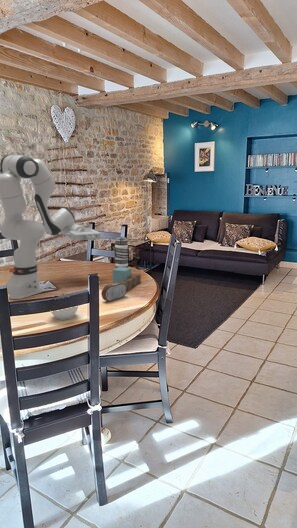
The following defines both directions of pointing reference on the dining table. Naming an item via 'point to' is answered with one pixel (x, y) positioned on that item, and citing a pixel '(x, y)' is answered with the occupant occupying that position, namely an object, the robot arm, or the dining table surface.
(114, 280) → the slate block
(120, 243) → the decorative candle
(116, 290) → the oval wooden speaker
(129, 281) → the walnut board
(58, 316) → the lidded bowl
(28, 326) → the dining table surface
